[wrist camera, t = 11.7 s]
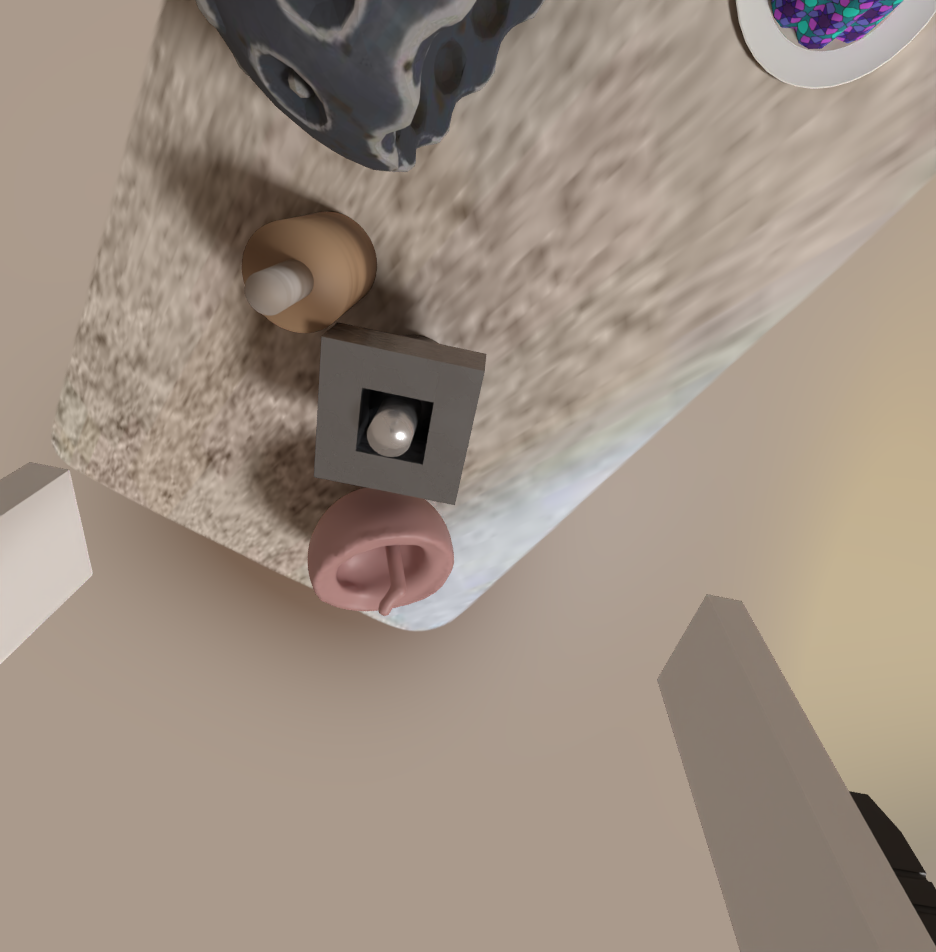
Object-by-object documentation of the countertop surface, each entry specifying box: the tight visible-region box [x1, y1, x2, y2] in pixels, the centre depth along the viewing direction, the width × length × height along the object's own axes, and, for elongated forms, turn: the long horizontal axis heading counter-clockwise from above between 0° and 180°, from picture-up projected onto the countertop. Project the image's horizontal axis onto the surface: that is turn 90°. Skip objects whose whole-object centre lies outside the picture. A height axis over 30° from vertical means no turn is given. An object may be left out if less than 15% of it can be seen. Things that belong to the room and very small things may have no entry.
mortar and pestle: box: [308, 487, 454, 616], centre depth 44 cm, size 12×12×11 cm
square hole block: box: [314, 323, 486, 505], centre depth 35 cm, size 10×10×4 cm
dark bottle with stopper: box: [367, 335, 438, 457], centre depth 37 cm, size 7×7×11 cm
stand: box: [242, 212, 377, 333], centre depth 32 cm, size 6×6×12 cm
